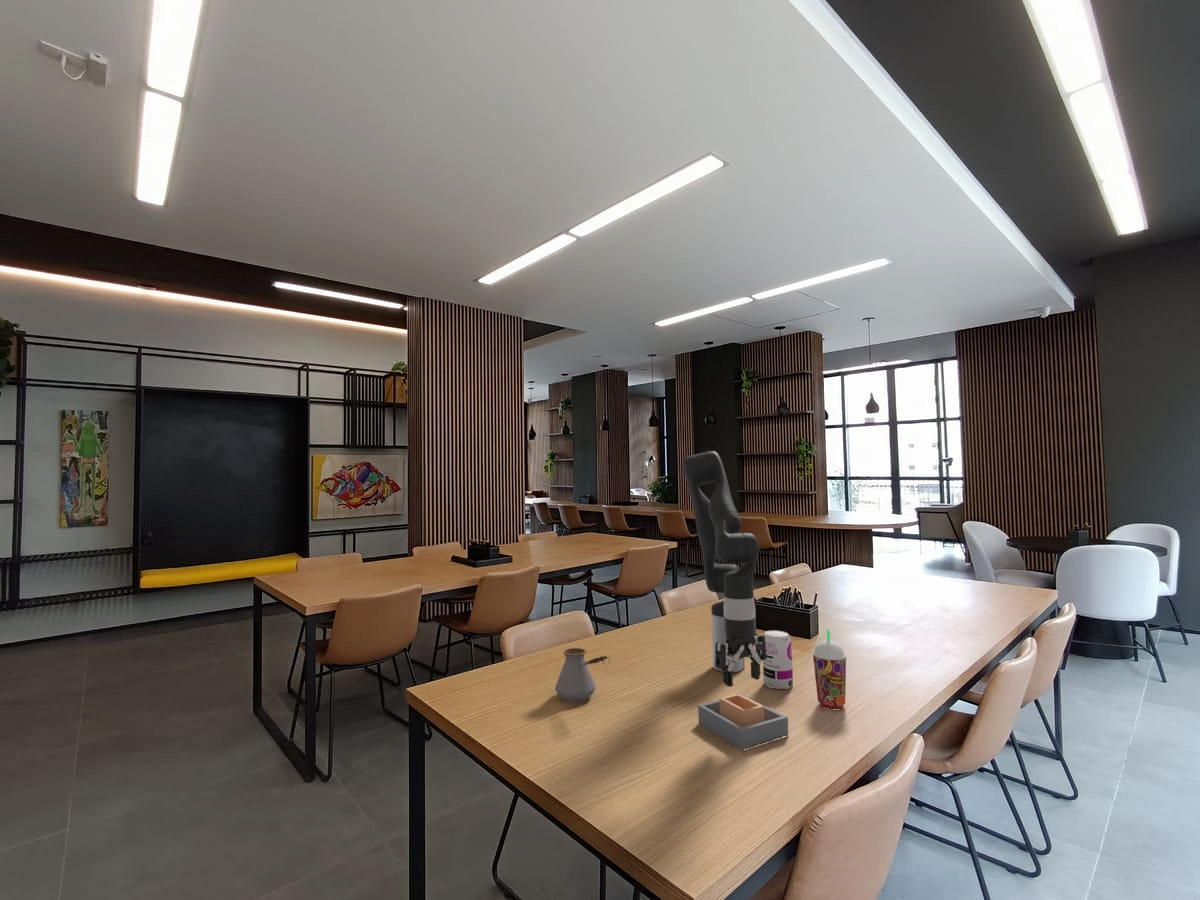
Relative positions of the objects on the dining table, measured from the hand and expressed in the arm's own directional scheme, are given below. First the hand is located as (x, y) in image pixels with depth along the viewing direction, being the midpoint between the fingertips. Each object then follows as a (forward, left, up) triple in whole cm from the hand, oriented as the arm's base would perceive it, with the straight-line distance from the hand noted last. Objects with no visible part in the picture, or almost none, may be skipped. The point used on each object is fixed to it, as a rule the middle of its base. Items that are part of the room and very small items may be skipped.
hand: (742, 682), depth 133 cm
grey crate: (0, 0, -11) cm, 11 cm away
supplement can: (-29, -17, -12) cm, 35 cm away
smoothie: (-30, +1, -12) cm, 32 cm away
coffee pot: (+26, -34, -12) cm, 45 cm away
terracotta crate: (0, 0, -11) cm, 11 cm away
